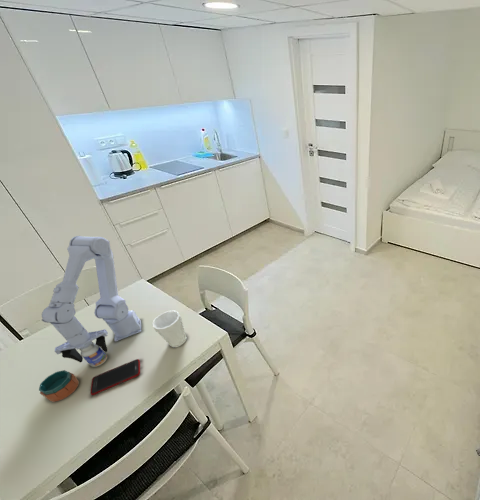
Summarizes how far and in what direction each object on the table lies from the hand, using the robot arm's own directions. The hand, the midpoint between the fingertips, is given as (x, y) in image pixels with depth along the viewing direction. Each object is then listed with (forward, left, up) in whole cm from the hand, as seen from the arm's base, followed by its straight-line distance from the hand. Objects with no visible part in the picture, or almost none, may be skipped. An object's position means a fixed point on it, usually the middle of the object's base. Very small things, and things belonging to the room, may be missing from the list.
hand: (94, 355), depth 108 cm
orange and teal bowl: (+10, +7, -4) cm, 13 cm away
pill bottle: (0, 0, -4) cm, 4 cm away
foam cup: (-27, +7, -4) cm, 28 cm away
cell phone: (-6, +12, -4) cm, 14 cm away
